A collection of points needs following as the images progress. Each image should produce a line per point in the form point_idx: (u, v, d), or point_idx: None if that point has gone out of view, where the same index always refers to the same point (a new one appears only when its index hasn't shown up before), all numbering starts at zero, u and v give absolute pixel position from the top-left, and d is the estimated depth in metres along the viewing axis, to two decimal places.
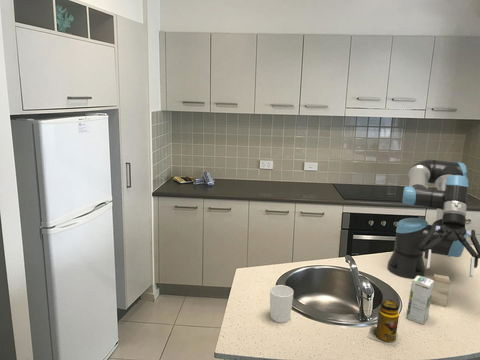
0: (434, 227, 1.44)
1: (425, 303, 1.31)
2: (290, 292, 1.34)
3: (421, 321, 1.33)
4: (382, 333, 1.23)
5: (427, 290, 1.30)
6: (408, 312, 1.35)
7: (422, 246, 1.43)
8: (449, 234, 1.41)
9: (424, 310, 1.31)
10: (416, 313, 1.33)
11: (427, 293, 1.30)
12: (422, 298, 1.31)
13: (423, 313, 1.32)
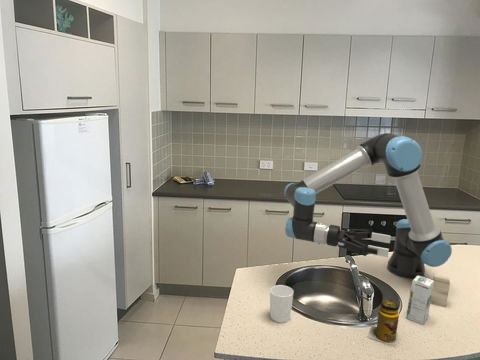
0: None
1: (425, 303, 1.31)
2: (290, 292, 1.34)
3: (421, 321, 1.33)
4: (382, 333, 1.23)
5: (427, 290, 1.30)
6: (408, 312, 1.35)
7: None
8: None
9: (424, 310, 1.31)
10: (416, 313, 1.33)
11: (427, 293, 1.30)
12: (422, 298, 1.31)
13: (423, 313, 1.32)
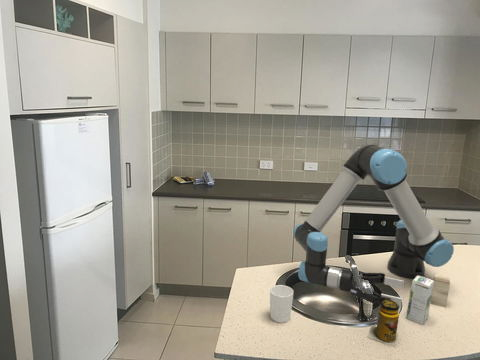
0: None
1: (425, 303, 1.31)
2: (290, 292, 1.34)
3: (421, 321, 1.33)
4: (382, 333, 1.23)
5: (427, 290, 1.30)
6: (408, 312, 1.35)
7: None
8: None
9: (424, 310, 1.31)
10: (416, 313, 1.33)
11: (427, 293, 1.30)
12: (422, 298, 1.31)
13: (423, 313, 1.32)
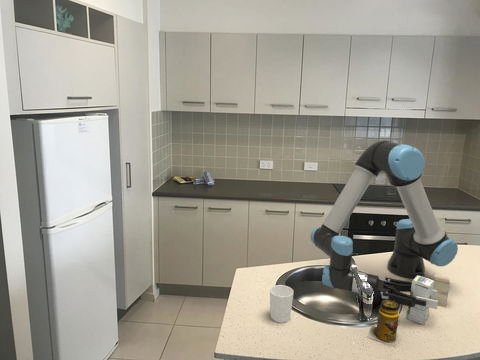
0: None
1: None
2: (290, 292, 1.34)
3: (421, 321, 1.33)
4: (382, 333, 1.23)
5: (427, 290, 1.30)
6: (408, 312, 1.35)
7: None
8: None
9: (424, 310, 1.31)
10: (416, 313, 1.33)
11: (427, 293, 1.30)
12: None
13: (423, 313, 1.32)
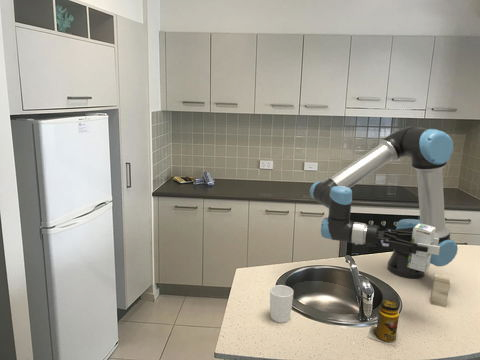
0: None
1: None
2: (290, 292, 1.34)
3: (422, 269, 1.29)
4: (382, 333, 1.23)
5: (429, 236, 1.26)
6: (409, 261, 1.31)
7: None
8: None
9: (426, 257, 1.28)
10: (417, 261, 1.29)
11: (429, 239, 1.26)
12: None
13: (425, 260, 1.28)
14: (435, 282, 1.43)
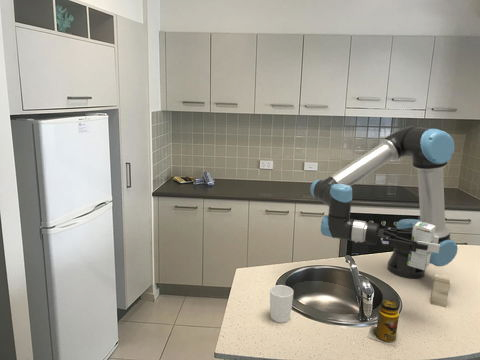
0: None
1: None
2: (290, 292, 1.34)
3: (422, 267, 1.29)
4: (382, 333, 1.23)
5: (429, 234, 1.26)
6: (409, 259, 1.31)
7: None
8: None
9: (425, 255, 1.28)
10: (417, 259, 1.29)
11: (429, 237, 1.26)
12: None
13: (424, 258, 1.28)
14: (435, 282, 1.43)
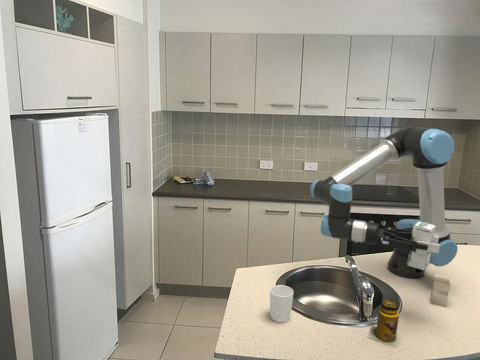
0: None
1: None
2: (290, 292, 1.34)
3: (422, 267, 1.29)
4: (382, 333, 1.23)
5: (429, 234, 1.26)
6: (409, 259, 1.31)
7: None
8: None
9: (425, 255, 1.28)
10: (417, 259, 1.29)
11: (429, 237, 1.26)
12: None
13: (424, 258, 1.28)
14: (435, 282, 1.43)
